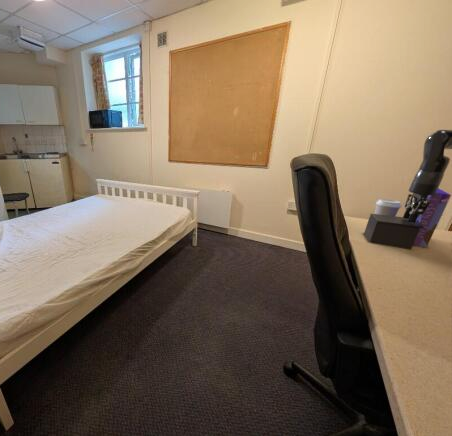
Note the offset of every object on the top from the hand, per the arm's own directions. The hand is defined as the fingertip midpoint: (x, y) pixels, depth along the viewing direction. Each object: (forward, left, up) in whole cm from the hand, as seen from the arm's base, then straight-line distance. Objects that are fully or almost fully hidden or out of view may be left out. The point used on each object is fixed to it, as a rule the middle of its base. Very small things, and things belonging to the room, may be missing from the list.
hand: (408, 220), depth 96 cm
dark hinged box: (+5, 0, -11) cm, 12 cm away
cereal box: (-7, -9, -11) cm, 16 cm away
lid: (+4, 0, -1) cm, 4 cm away
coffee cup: (+3, -19, -11) cm, 22 cm away
